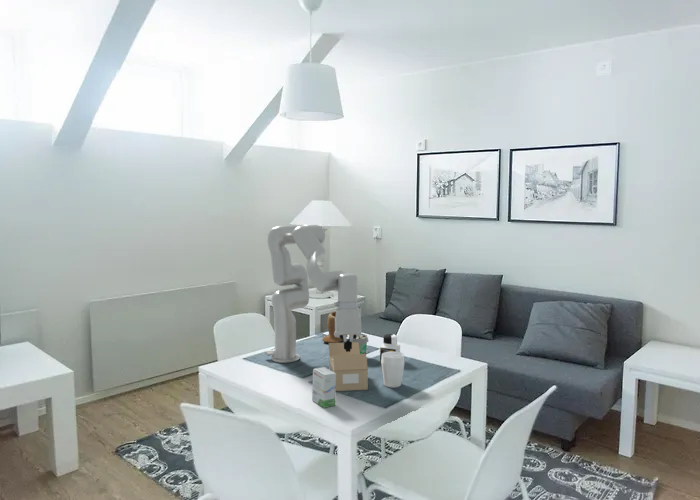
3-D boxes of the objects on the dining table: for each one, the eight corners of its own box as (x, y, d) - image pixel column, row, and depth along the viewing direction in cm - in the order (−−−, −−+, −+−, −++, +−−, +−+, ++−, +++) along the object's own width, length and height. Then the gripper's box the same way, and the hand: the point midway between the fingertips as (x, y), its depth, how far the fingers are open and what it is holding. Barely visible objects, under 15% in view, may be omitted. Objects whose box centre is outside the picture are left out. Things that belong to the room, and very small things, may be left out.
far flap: (328, 343, 224) (328, 343, 224) (329, 355, 220) (329, 356, 220) (358, 342, 225) (358, 342, 226) (360, 354, 221) (359, 355, 222)
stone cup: (340, 346, 262) (340, 316, 261) (319, 343, 267) (319, 313, 266) (353, 338, 276) (353, 310, 274) (333, 336, 281) (333, 307, 279)
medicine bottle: (379, 362, 237) (380, 336, 236) (384, 358, 243) (385, 332, 242) (395, 364, 234) (395, 337, 233) (400, 360, 241) (400, 333, 239)
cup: (397, 390, 203) (398, 359, 202) (376, 385, 208) (377, 355, 207) (408, 383, 211) (408, 353, 210) (387, 379, 216) (388, 350, 214)
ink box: (311, 400, 193) (311, 368, 192) (324, 397, 196) (324, 366, 195) (323, 408, 186) (323, 375, 185) (336, 405, 189) (336, 372, 188)
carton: (333, 391, 202) (333, 370, 202) (328, 375, 220) (328, 355, 219) (367, 389, 204) (367, 368, 203) (360, 373, 222) (360, 354, 221)
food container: (365, 362, 236) (365, 340, 235) (351, 361, 238) (352, 339, 237) (370, 354, 248) (370, 333, 247) (357, 353, 250) (357, 332, 249)
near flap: (334, 370, 201) (334, 370, 201) (333, 355, 204) (333, 354, 204) (367, 369, 203) (367, 368, 203) (366, 353, 206) (366, 353, 206)
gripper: (329, 307, 205) (329, 354, 207) (368, 306, 207) (368, 352, 209) (327, 303, 213) (328, 349, 215) (365, 302, 215) (365, 347, 217)
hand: (347, 350), depth 212 cm, fingers closed
